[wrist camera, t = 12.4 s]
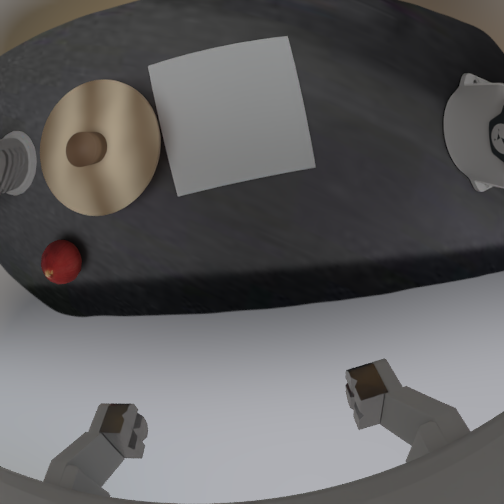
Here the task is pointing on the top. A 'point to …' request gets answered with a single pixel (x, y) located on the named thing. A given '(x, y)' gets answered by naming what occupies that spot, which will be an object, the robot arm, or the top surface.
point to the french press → (16, 163)
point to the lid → (100, 147)
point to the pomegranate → (61, 262)
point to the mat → (231, 114)
